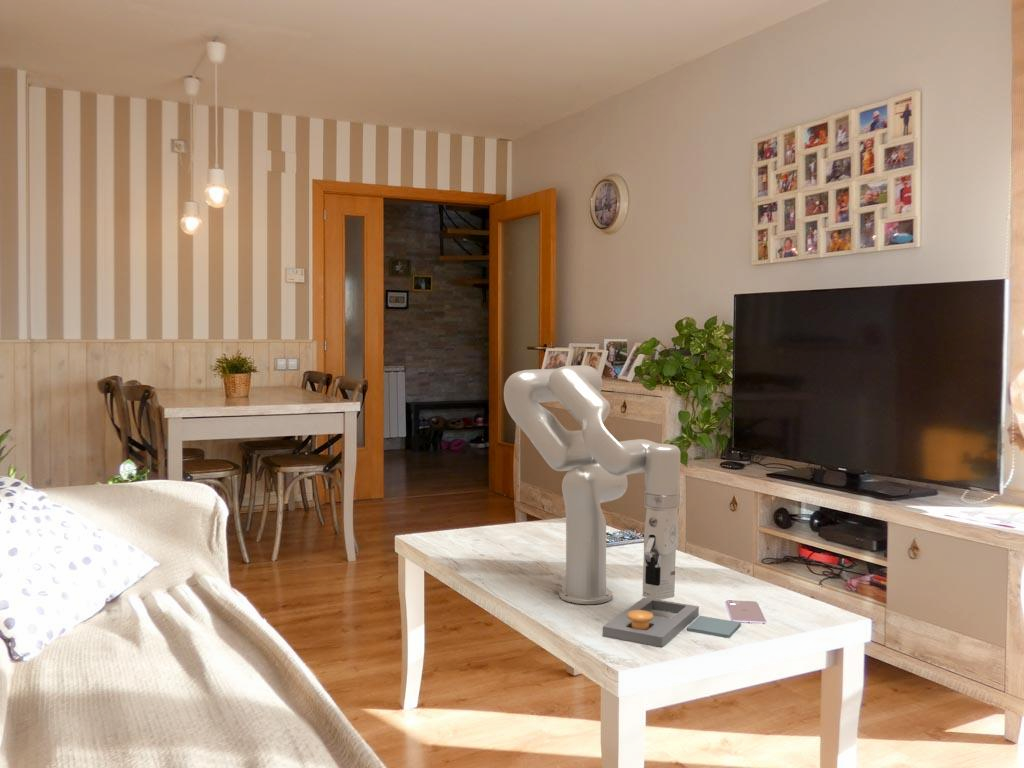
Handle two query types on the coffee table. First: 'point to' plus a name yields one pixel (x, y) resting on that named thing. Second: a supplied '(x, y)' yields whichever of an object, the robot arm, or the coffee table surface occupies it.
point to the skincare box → (662, 578)
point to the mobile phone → (745, 611)
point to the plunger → (640, 619)
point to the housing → (652, 623)
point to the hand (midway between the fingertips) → (659, 579)
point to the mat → (714, 626)
